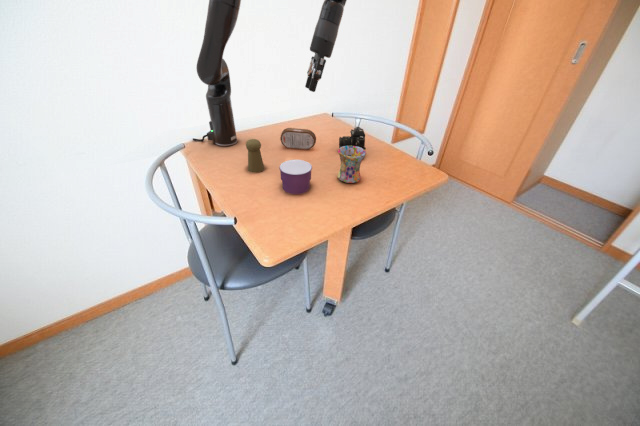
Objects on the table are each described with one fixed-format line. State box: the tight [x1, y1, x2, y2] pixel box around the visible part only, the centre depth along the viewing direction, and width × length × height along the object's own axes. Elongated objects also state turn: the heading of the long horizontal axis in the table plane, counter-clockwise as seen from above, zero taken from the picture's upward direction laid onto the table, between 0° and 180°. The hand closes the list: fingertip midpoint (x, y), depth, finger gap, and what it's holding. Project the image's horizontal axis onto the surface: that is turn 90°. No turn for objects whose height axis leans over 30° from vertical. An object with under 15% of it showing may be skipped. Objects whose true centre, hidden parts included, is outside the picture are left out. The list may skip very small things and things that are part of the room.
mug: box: [336, 146, 367, 184], centre depth 95 cm, size 12×9×11 cm
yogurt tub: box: [278, 159, 313, 195], centre depth 89 cm, size 10×10×8 cm
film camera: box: [338, 126, 367, 151], centre depth 113 cm, size 18×12×10 cm
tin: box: [279, 127, 317, 151], centre depth 114 cm, size 15×3×8 cm, turn 84°
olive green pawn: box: [245, 138, 265, 174], centre depth 97 cm, size 6×6×11 cm
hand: (309, 89), depth 96 cm, fingers open, 8 cm apart
